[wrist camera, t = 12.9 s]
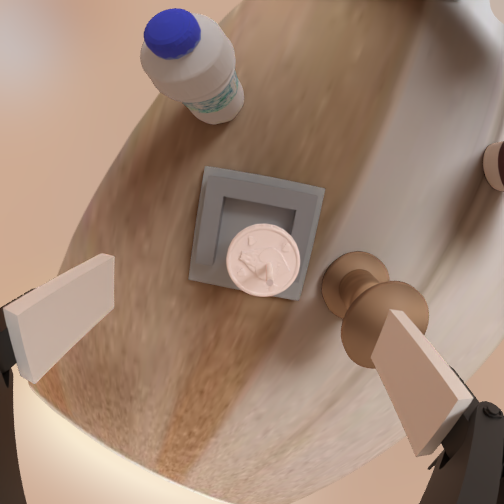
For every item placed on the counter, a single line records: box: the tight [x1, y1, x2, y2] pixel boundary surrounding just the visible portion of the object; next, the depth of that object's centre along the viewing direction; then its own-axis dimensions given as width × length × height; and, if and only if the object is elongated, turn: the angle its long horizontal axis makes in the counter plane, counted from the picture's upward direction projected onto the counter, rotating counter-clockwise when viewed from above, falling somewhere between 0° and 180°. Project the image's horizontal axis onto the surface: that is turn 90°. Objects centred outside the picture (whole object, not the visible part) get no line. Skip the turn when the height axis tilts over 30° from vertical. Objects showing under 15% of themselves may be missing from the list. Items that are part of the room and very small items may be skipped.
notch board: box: [188, 166, 325, 301], centre depth 33 cm, size 14×14×3 cm
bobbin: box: [322, 251, 429, 369], centre depth 30 cm, size 9×9×12 cm
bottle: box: [140, 8, 244, 125], centre depth 22 cm, size 7×7×20 cm
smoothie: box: [226, 223, 300, 297], centre depth 27 cm, size 6×6×14 cm
